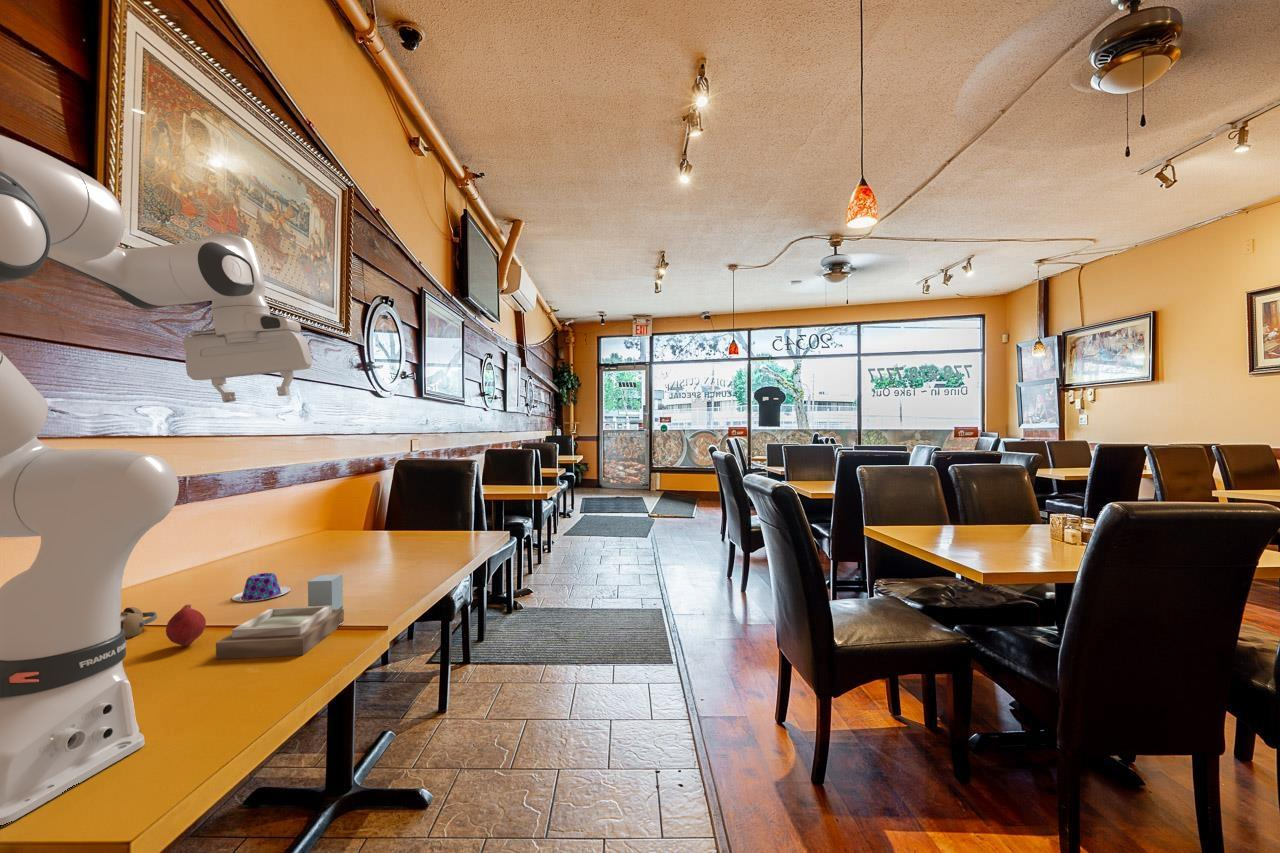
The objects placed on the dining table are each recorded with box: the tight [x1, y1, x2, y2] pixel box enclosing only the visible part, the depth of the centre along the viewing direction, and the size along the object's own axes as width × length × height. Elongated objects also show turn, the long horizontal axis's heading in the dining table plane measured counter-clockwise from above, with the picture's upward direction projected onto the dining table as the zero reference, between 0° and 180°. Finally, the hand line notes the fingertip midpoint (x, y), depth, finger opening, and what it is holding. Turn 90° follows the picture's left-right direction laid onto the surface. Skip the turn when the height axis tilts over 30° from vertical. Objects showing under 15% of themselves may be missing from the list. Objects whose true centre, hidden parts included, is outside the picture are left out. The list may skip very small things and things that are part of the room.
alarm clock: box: [121, 606, 158, 639], centre depth 109 cm, size 11×5×15 cm
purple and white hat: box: [231, 572, 291, 602], centre depth 135 cm, size 12×12×5 cm
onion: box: [165, 603, 207, 647], centre depth 103 cm, size 6×6×8 cm
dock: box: [215, 605, 345, 660], centre depth 106 cm, size 16×15×4 cm
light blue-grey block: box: [307, 573, 344, 610], centre depth 121 cm, size 5×5×8 cm
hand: (257, 398), depth 102 cm, fingers open, 8 cm apart
